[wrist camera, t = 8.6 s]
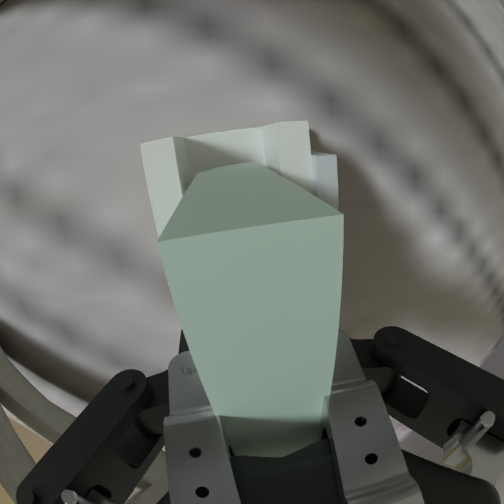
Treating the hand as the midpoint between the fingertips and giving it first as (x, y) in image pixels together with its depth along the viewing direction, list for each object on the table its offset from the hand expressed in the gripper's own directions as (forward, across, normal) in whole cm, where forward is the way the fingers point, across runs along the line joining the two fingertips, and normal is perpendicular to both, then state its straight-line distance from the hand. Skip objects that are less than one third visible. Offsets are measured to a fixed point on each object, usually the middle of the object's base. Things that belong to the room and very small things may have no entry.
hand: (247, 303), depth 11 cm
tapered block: (+2, 0, 0) cm, 2 cm away
